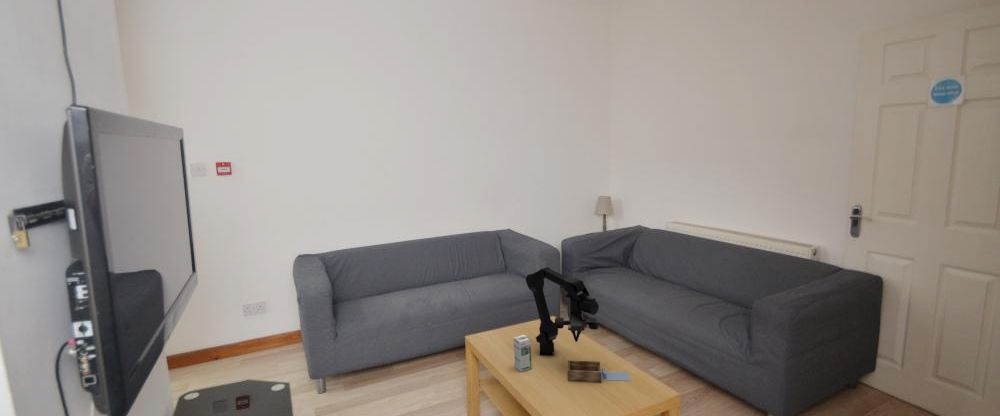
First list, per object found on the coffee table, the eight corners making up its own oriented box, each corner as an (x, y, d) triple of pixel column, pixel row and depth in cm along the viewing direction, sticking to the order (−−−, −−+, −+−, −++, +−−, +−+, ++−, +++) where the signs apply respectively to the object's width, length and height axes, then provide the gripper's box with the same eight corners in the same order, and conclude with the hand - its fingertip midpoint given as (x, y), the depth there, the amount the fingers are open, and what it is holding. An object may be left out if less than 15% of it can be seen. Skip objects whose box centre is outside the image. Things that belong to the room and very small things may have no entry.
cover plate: (601, 381, 190) (601, 374, 190) (599, 373, 197) (599, 366, 196) (630, 382, 189) (630, 375, 188) (628, 374, 195) (628, 367, 194)
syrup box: (520, 372, 199) (519, 341, 196) (514, 366, 204) (513, 336, 202) (531, 368, 201) (530, 338, 199) (525, 363, 207) (524, 333, 204)
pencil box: (567, 381, 190) (567, 370, 190) (567, 370, 199) (567, 360, 198) (601, 382, 188) (601, 372, 188) (599, 371, 197) (599, 361, 196)
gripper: (554, 315, 191) (554, 349, 194) (598, 316, 188) (598, 350, 191) (554, 305, 202) (555, 337, 204) (596, 306, 199) (597, 338, 202)
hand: (576, 341), depth 200 cm, fingers closed
